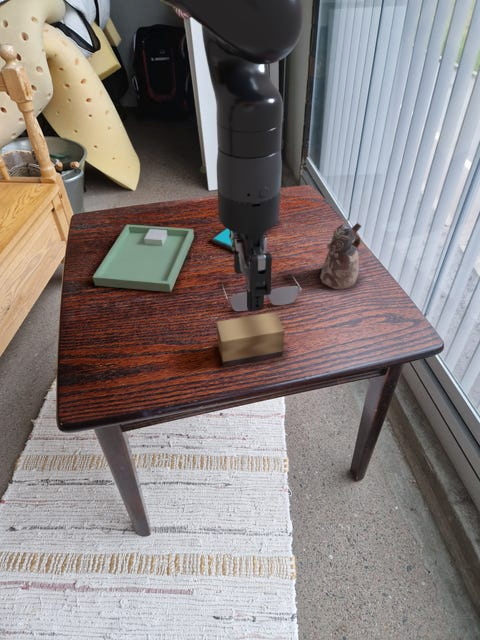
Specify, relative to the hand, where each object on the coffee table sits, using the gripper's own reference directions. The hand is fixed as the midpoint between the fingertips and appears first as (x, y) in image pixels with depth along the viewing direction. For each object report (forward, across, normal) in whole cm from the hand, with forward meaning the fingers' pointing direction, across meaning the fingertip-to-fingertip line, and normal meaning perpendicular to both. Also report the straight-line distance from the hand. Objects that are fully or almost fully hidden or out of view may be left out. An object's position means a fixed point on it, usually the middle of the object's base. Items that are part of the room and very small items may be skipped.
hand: (248, 289), depth 61 cm
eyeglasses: (+14, -14, +6) cm, 20 cm away
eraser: (+14, 0, 0) cm, 14 cm away
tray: (+14, -30, -15) cm, 36 cm away
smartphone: (+13, -36, +8) cm, 39 cm away
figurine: (+14, -15, +22) cm, 30 cm away
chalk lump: (+13, -37, -12) cm, 41 cm away
